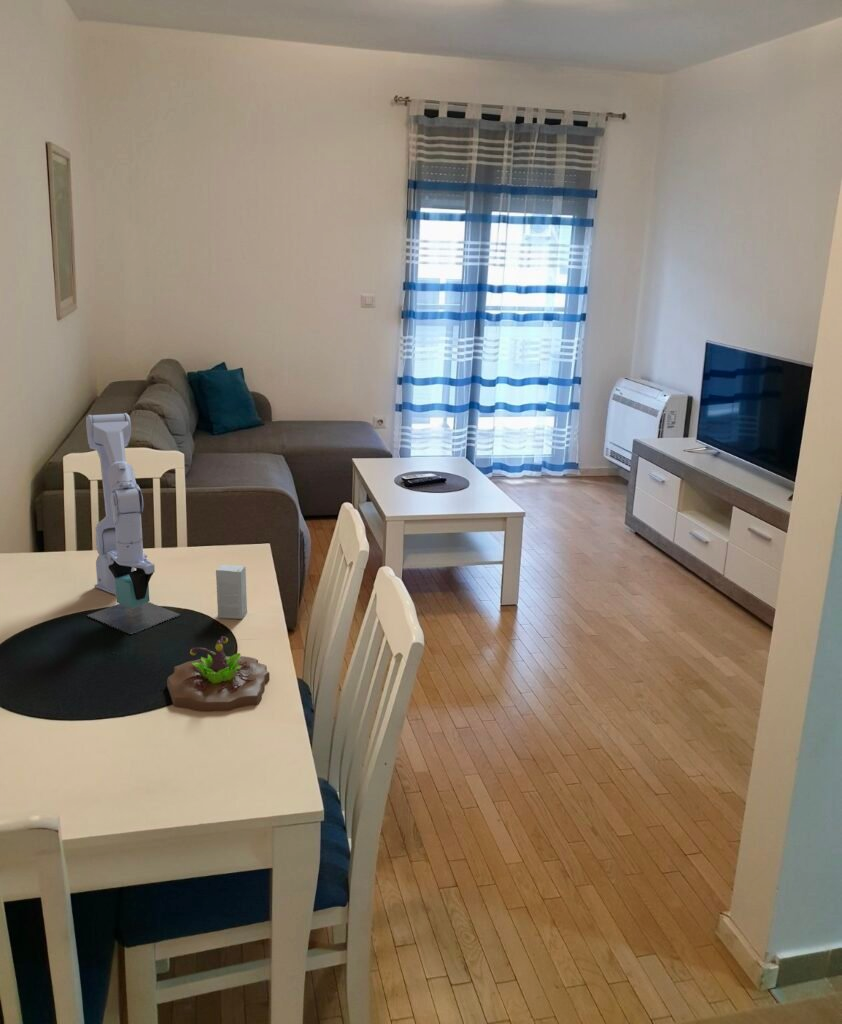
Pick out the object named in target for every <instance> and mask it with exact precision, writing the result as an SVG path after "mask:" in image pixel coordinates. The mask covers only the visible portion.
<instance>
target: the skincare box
mask: <svg viewBox="0 0 842 1024" xmlns="http://www.w3.org/2000/svg"><path fill="white" fill-rule="evenodd" d="M246 568H247V567H246V566H245V565H231V564H221V565H220V566H219V567H218V568H217V569H216V570H215V577H216V581H215V582H216V597H217V598H216V601H217V603H216V604H217V618H219V619H237V620H243V619H244V617H245V616H246V615H247V613H248V597H247V573H246V571H247V570H246Z"/></svg>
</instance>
